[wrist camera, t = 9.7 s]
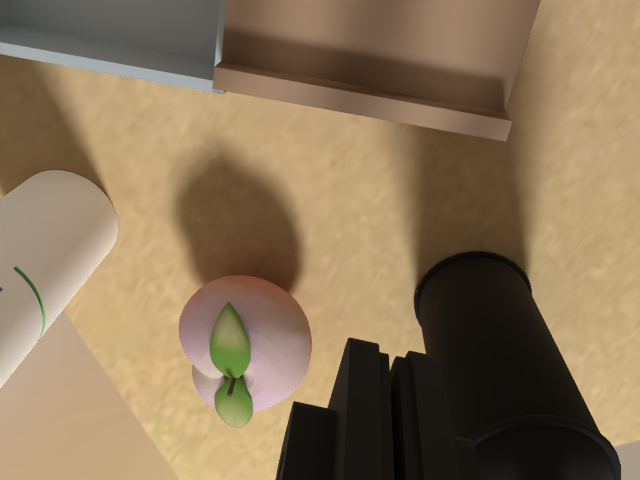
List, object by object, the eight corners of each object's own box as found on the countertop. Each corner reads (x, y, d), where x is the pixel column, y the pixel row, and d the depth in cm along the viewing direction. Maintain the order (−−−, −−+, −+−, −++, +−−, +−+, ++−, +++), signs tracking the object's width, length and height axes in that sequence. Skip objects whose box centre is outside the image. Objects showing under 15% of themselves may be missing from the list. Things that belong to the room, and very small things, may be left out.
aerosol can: (394, 280, 41) (423, 536, 24) (504, 230, 39) (629, 472, 21) (443, 362, 44) (501, 644, 27) (548, 321, 42) (688, 597, 24)
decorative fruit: (325, 346, 44) (317, 448, 35) (220, 356, 45) (188, 458, 36) (303, 236, 40) (288, 321, 31) (189, 250, 41) (143, 336, 32)
